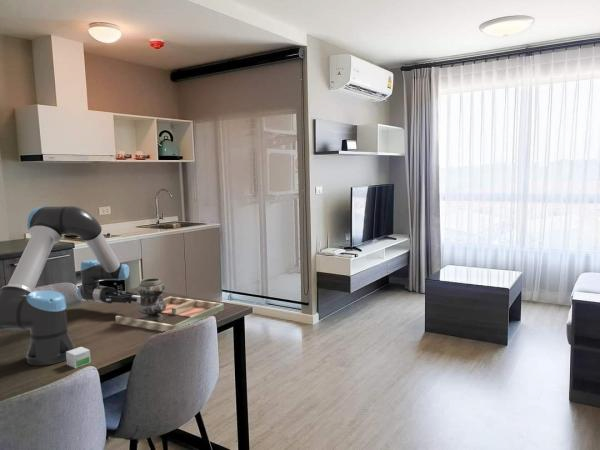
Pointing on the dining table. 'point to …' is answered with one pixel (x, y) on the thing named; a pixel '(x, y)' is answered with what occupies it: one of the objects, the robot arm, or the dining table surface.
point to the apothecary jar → (151, 299)
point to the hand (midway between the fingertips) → (143, 299)
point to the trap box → (177, 313)
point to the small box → (78, 357)
